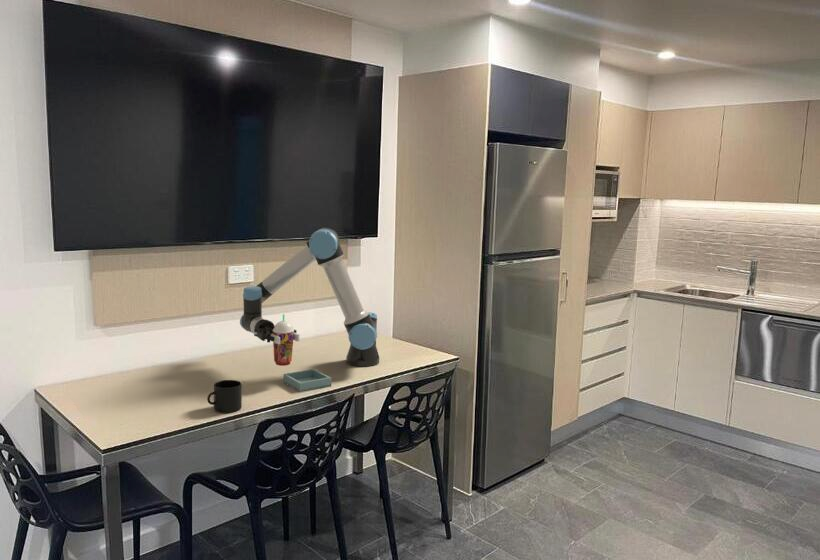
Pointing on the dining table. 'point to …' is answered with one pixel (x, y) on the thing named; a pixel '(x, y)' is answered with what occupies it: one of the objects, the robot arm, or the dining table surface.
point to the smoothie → (283, 343)
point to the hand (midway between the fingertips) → (288, 339)
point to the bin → (307, 380)
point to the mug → (227, 396)
